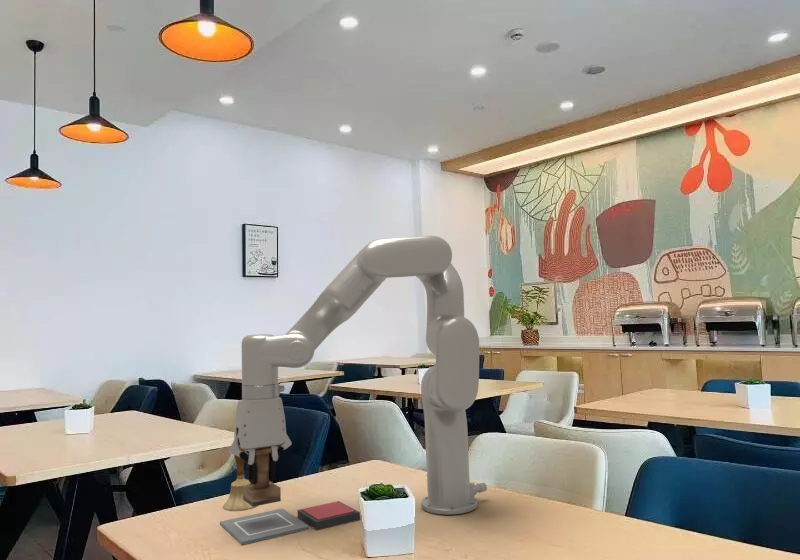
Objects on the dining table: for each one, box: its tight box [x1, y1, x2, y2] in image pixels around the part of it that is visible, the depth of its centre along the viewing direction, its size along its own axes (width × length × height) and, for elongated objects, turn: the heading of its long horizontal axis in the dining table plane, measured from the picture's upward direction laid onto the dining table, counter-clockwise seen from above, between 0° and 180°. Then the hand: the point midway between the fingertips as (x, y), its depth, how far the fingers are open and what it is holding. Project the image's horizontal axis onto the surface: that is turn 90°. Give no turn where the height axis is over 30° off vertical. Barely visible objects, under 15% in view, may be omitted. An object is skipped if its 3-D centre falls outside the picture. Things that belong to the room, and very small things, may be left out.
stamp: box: [243, 447, 282, 508], centre depth 126 cm, size 6×6×11 cm
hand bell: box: [222, 447, 257, 512], centre depth 142 cm, size 8×8×16 cm
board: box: [219, 508, 310, 546], centre depth 126 cm, size 14×15×1 cm
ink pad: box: [296, 500, 361, 531], centre depth 129 cm, size 10×10×2 cm
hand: (261, 480), depth 126 cm, fingers closed on stamp, 3 cm apart
